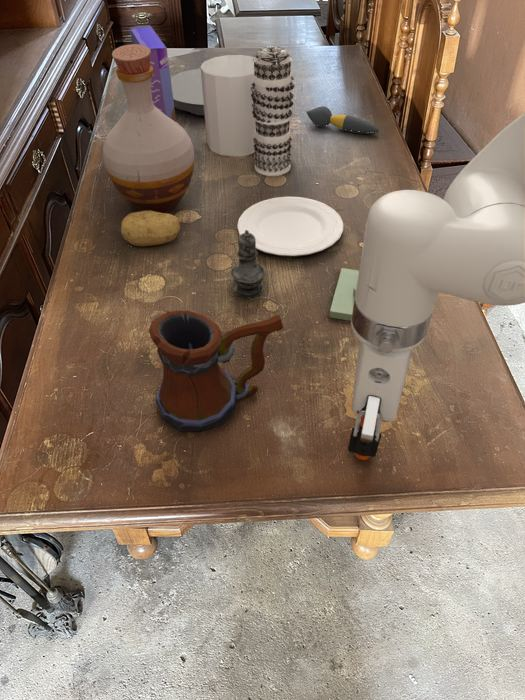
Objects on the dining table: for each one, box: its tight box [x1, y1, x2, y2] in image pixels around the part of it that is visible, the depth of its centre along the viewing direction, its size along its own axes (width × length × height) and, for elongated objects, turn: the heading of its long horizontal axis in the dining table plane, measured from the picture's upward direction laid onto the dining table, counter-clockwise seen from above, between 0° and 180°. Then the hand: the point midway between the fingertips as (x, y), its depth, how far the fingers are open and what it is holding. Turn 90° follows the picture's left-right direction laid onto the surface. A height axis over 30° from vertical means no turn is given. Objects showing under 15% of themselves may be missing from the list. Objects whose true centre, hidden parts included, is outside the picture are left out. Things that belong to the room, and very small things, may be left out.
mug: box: [148, 310, 284, 432], centre depth 72 cm, size 18×12×15 cm, turn 99°
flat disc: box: [170, 67, 205, 116], centre depth 152 cm, size 28×28×4 cm
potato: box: [120, 210, 181, 247], centre depth 103 cm, size 7×11×6 cm, turn 94°
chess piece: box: [230, 230, 266, 299], centre depth 91 cm, size 6×6×12 cm
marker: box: [353, 403, 380, 461], centre depth 67 cm, size 2×2×11 cm
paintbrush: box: [305, 105, 380, 135], centre depth 138 cm, size 20×5×5 cm, turn 71°
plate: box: [236, 196, 344, 258], centre depth 107 cm, size 21×21×2 cm
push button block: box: [328, 267, 359, 322], centre depth 91 cm, size 14×12×3 cm
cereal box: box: [129, 24, 177, 123], centre depth 127 cm, size 17×5×24 cm, turn 20°
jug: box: [102, 43, 195, 214], centre depth 105 cm, size 20×18×30 cm
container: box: [199, 54, 256, 157], centre depth 129 cm, size 14×14×18 cm
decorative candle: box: [251, 45, 295, 177], centre depth 117 cm, size 9×9×25 cm
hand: (367, 419), depth 66 cm, fingers open, 9 cm apart
